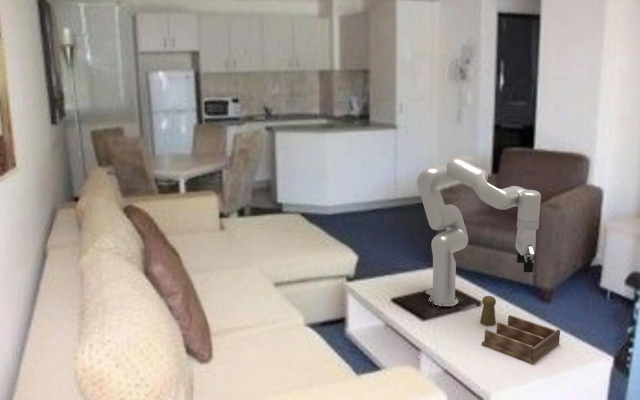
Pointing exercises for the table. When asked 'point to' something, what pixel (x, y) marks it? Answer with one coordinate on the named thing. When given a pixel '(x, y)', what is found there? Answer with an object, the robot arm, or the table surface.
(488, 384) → the table surface
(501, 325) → the slot rack
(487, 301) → the cork
